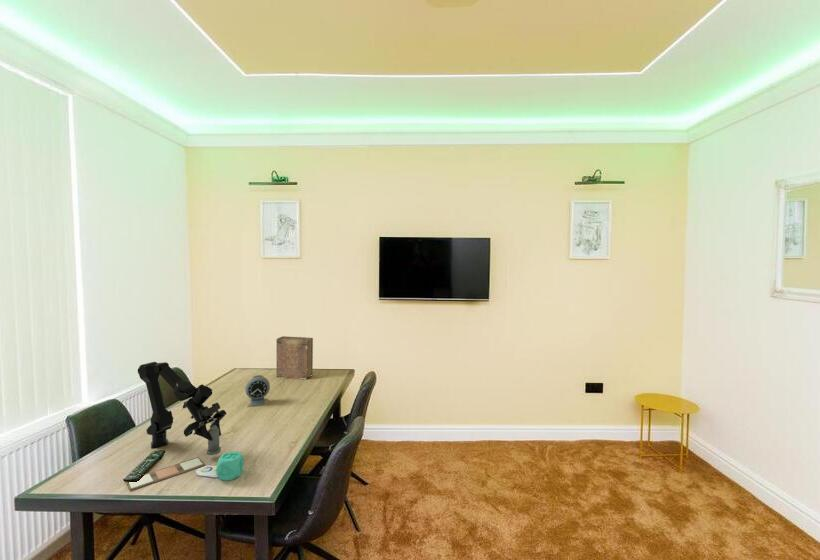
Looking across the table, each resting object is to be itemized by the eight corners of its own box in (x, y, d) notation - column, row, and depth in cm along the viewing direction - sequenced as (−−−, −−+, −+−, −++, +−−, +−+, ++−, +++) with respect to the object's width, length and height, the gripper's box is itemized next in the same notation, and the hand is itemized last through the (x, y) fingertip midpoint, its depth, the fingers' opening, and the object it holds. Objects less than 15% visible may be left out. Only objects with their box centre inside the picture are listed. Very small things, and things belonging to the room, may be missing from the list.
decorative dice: (236, 480, 150) (236, 461, 150) (216, 481, 150) (216, 461, 149) (244, 469, 158) (244, 451, 158) (224, 470, 158) (224, 451, 157)
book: (312, 376, 290) (313, 337, 289) (307, 379, 281) (308, 340, 280) (282, 374, 294) (282, 336, 293) (276, 377, 285) (276, 338, 284)
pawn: (205, 450, 168) (205, 424, 167) (219, 447, 171) (219, 421, 171) (207, 456, 163) (207, 429, 163) (221, 452, 166) (221, 426, 166)
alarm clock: (245, 407, 225) (245, 378, 225) (245, 402, 234) (245, 374, 233) (270, 404, 231) (270, 376, 230) (269, 399, 240) (269, 371, 239)
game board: (125, 481, 148) (125, 480, 148) (198, 457, 167) (198, 456, 167) (130, 491, 142) (130, 490, 142) (205, 465, 161) (205, 464, 161)
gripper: (188, 406, 159) (208, 436, 156) (223, 392, 176) (242, 419, 173) (174, 421, 162) (194, 451, 158) (210, 406, 179) (228, 433, 176)
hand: (216, 437), depth 166 cm, fingers closed on pawn, 4 cm apart
